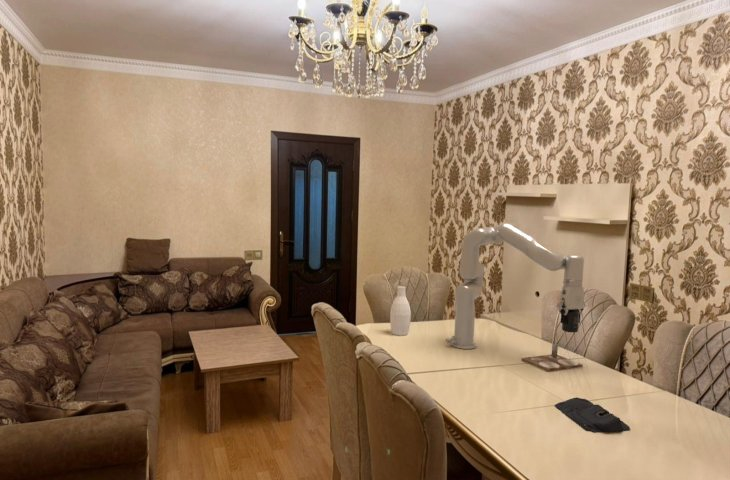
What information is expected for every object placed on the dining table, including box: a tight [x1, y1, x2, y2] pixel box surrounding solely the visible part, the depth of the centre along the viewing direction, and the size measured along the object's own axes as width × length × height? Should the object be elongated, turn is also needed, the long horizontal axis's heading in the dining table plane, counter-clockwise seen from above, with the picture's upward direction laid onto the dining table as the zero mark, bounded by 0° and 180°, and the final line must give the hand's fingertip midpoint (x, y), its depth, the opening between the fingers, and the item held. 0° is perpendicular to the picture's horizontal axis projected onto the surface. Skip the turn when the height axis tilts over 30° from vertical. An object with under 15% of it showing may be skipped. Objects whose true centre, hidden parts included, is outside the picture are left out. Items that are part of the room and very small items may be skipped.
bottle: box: [389, 285, 412, 337], centre depth 258 cm, size 11×11×25 cm
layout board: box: [521, 343, 583, 372], centre depth 215 cm, size 20×16×7 cm
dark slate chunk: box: [553, 396, 631, 434], centre depth 159 cm, size 15×22×5 cm
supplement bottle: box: [561, 307, 580, 334], centre depth 213 cm, size 7×7×12 cm
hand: (570, 322), depth 213 cm, fingers closed on supplement bottle, 6 cm apart
